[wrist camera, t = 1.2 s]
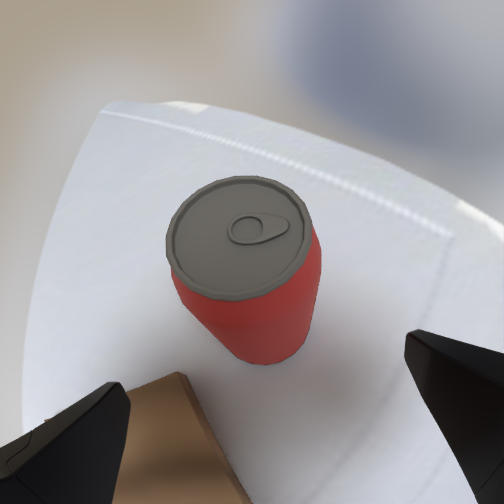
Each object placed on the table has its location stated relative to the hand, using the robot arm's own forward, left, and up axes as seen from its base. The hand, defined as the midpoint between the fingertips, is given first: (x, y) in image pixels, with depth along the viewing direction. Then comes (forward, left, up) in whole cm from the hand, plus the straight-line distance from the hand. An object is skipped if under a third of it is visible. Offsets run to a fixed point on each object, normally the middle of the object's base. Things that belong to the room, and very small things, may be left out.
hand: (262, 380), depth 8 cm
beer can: (+5, -2, -12) cm, 13 cm away
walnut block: (-3, +12, -13) cm, 18 cm away
